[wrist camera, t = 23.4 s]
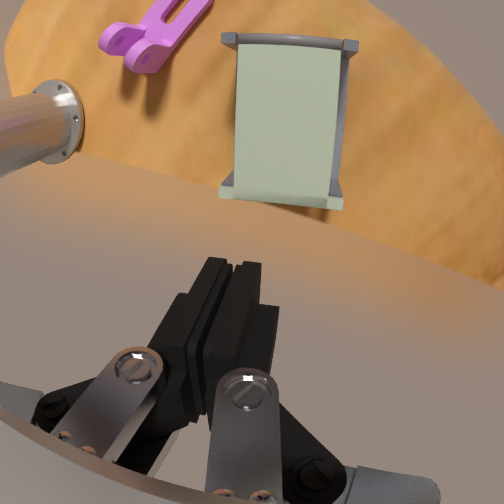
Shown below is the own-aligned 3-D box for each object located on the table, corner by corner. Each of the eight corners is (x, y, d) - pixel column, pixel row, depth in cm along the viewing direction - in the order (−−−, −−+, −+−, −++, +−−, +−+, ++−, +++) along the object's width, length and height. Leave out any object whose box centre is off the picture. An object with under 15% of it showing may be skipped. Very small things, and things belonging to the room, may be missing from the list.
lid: (220, 195, 30) (217, 198, 29) (224, 34, 23) (221, 32, 22) (341, 207, 28) (342, 211, 27) (356, 42, 21) (358, 41, 20)
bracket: (157, 73, 32) (127, 73, 26) (126, 51, 31) (92, 49, 25) (226, -12, 26) (207, -31, 20) (190, -31, 25) (166, -51, 19)
